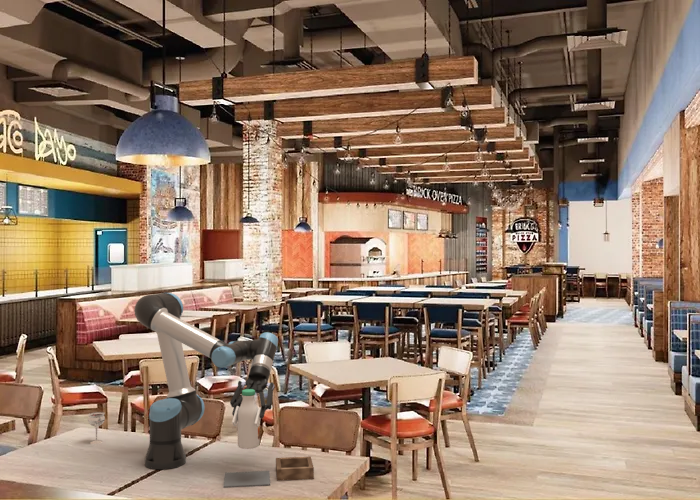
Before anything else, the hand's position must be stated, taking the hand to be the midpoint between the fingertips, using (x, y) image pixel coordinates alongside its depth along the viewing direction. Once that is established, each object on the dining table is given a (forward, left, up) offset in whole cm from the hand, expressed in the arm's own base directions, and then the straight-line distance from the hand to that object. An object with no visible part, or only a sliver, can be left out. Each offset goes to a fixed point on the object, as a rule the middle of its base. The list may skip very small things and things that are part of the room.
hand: (245, 424), depth 241 cm
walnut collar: (+18, +7, -21) cm, 28 cm away
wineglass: (-62, +56, -21) cm, 87 cm away
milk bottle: (+1, +3, -9) cm, 9 cm away
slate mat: (+1, +3, -21) cm, 21 cm away
